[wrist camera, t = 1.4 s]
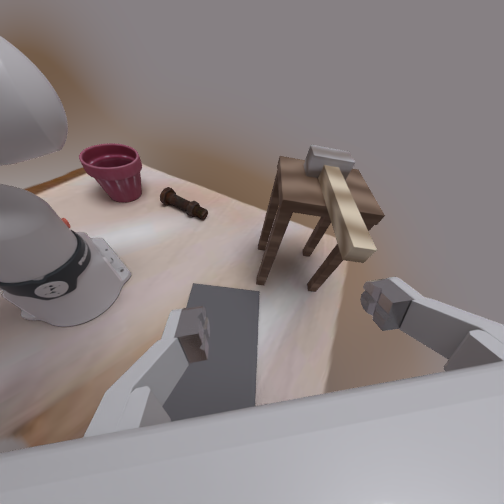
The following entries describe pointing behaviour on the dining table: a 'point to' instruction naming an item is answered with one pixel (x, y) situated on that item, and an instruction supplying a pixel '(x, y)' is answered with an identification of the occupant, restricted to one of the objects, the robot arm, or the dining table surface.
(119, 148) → the plant pot
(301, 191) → the stool
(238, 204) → the dining table surface
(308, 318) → the dining table surface
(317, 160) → the hammer
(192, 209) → the bolt
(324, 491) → the robot arm
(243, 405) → the mat
